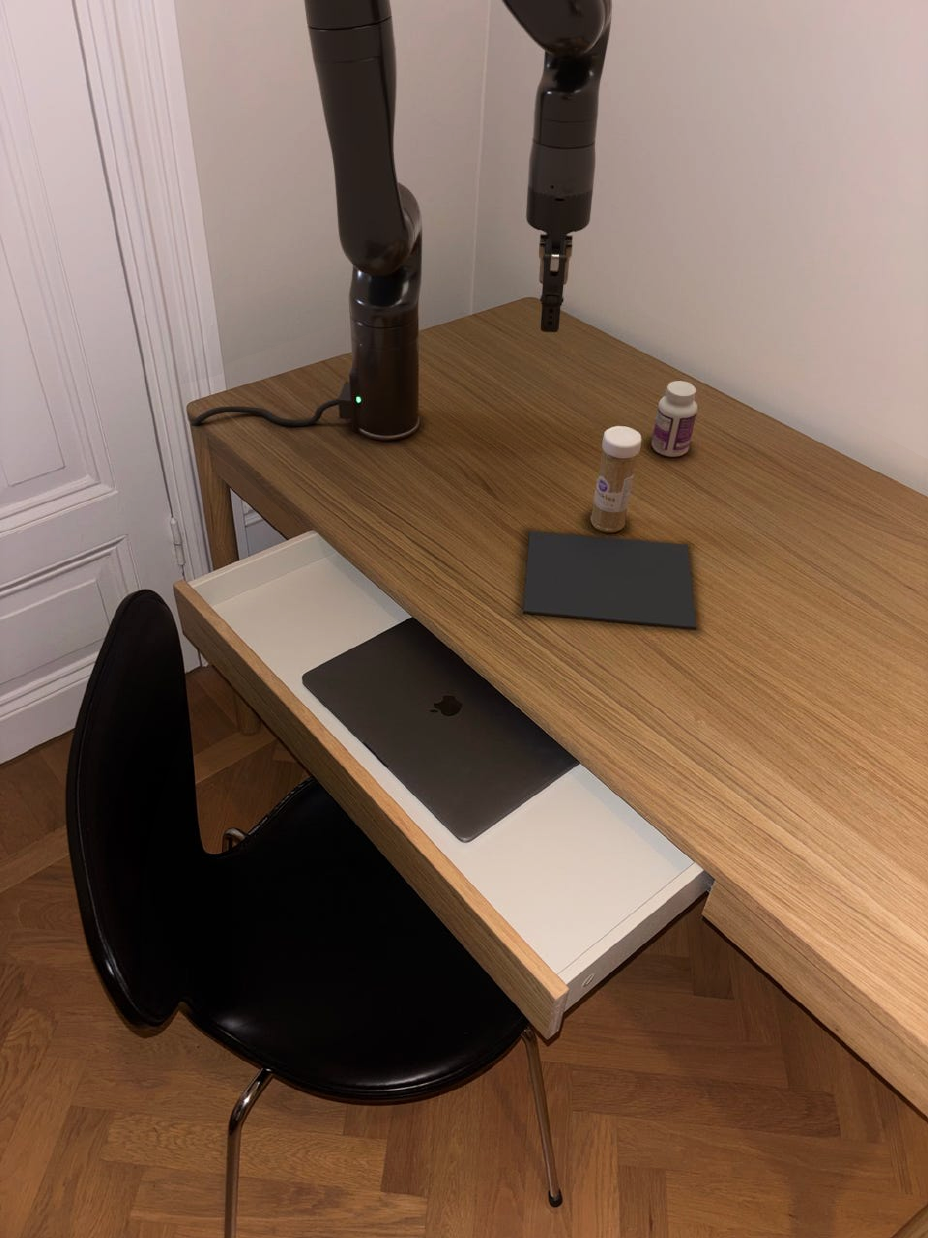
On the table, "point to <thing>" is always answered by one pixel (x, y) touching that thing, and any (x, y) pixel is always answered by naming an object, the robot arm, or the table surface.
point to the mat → (609, 580)
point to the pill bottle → (675, 419)
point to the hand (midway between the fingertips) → (550, 314)
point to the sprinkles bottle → (615, 478)
